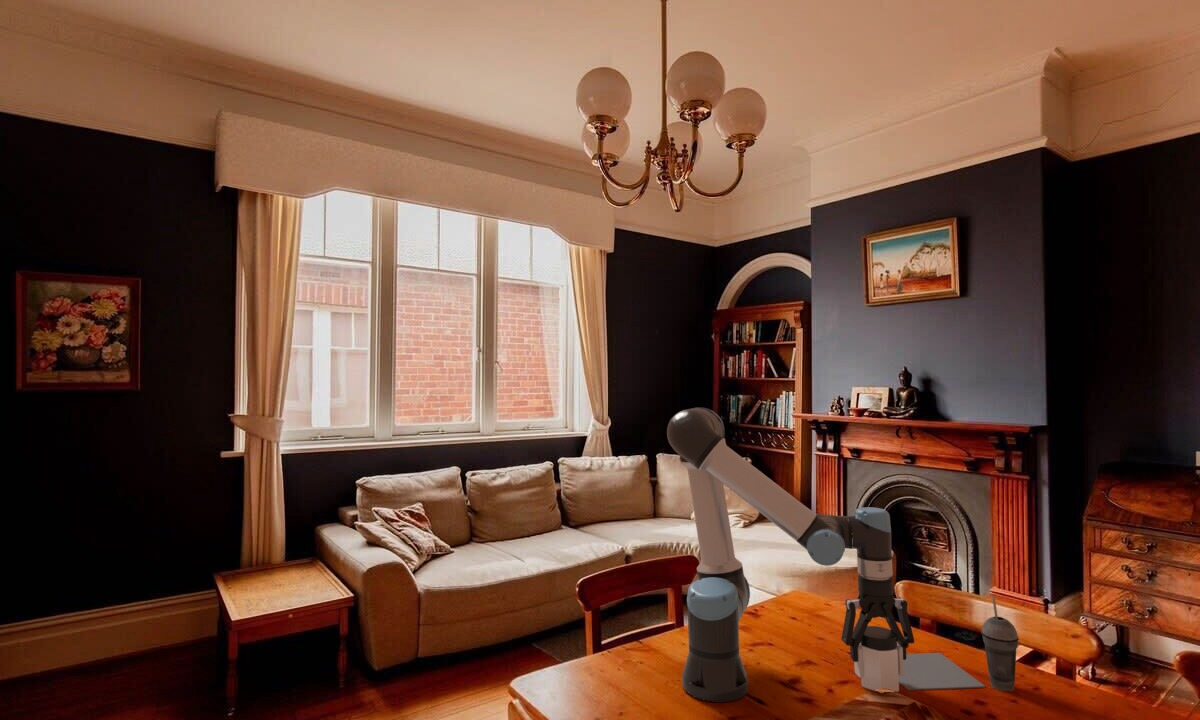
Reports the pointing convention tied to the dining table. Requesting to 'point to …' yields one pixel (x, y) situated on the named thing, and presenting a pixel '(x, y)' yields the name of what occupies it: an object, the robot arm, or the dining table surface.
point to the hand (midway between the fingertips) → (879, 674)
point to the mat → (934, 673)
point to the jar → (879, 659)
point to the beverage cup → (1000, 651)
